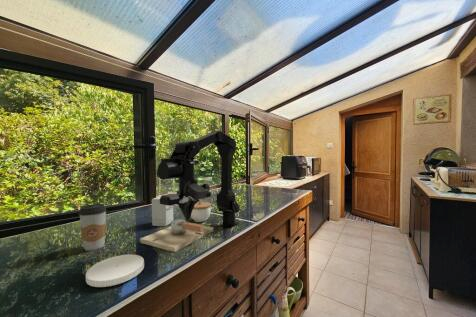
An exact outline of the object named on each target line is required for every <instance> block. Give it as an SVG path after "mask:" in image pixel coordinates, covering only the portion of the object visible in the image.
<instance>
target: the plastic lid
mask: <svg viewBox="0 0 476 317" xmlns="http://www.w3.org/2000/svg"><path fill="white" fill-rule="evenodd" d="M144 268H145V260H144V258H143V257H142V256H141V255H138V254H121V255H116V256H111V257H108V258H106V259H104V260H100V261H99V262H97V263H95V264H93V265H92V266H91V267H89V268H88V269H87V270H86V273H85V282H86V284H87V285H89V286H90V287H95V288H106V287H112V286H116V285H120V284H122V283H125V282H127V281H130V280H131V279H133V278H135V277H137V276H139V275H140V274H141V273H142V271H143V270H144Z"/></svg>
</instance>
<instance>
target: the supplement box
mask: <svg viewBox="0 0 476 317" xmlns="http://www.w3.org/2000/svg"><path fill="white" fill-rule="evenodd" d="M161 196H162V195H160V196H158V197H154V198H152V199H151V223H152V224H151V225H152V226H154V227H155V226H156V227H167V226H168V225H169V224H170V225H171V221H174V205H171V206H167V205H163V204H160V197H161Z"/></svg>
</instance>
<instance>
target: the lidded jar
mask: <svg viewBox="0 0 476 317" xmlns="http://www.w3.org/2000/svg"><path fill="white" fill-rule="evenodd" d="M211 210H212V204H211V203H210V202H206V201H205V202H204V201H201V200H200V201H199V202H197V203H196V204H195V205H194V208H193V210H192V214H191V217H190V218H191V219H192V220H194V222H196V223H202V222H206V221H207V219H208V218H209V217H210V214H211Z"/></svg>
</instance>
